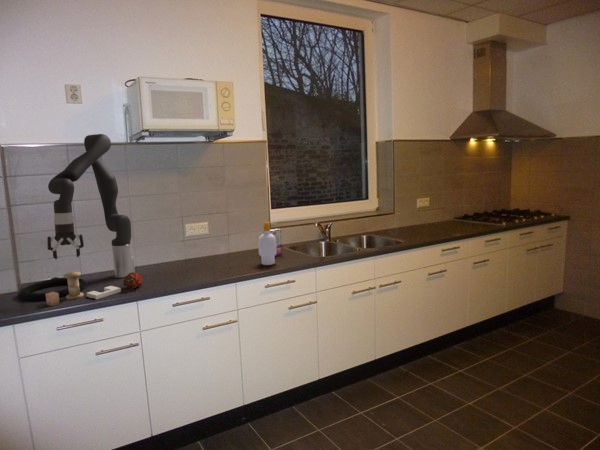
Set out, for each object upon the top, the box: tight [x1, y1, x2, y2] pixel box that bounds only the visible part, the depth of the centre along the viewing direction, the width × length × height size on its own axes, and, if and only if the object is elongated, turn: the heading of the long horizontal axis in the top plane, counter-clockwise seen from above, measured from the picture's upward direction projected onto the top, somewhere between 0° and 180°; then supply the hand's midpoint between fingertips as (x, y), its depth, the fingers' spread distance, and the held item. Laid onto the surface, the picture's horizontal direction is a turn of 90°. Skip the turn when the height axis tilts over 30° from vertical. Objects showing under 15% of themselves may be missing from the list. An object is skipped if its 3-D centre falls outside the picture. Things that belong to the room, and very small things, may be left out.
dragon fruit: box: [122, 271, 144, 290], centre depth 196 cm, size 8×8×12 cm
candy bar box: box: [262, 228, 283, 257], centre depth 252 cm, size 11×5×16 cm, turn 132°
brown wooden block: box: [45, 291, 61, 307], centre depth 175 cm, size 3×4×5 cm
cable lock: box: [18, 276, 87, 302], centre depth 195 cm, size 28×4×30 cm
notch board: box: [86, 285, 122, 300], centre depth 187 cm, size 12×8×2 cm, turn 147°
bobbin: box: [63, 271, 85, 301], centre depth 184 cm, size 7×7×11 cm
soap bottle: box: [257, 221, 277, 266], centre depth 231 cm, size 10×10×24 cm
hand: (67, 258), depth 184 cm, fingers open, 8 cm apart
